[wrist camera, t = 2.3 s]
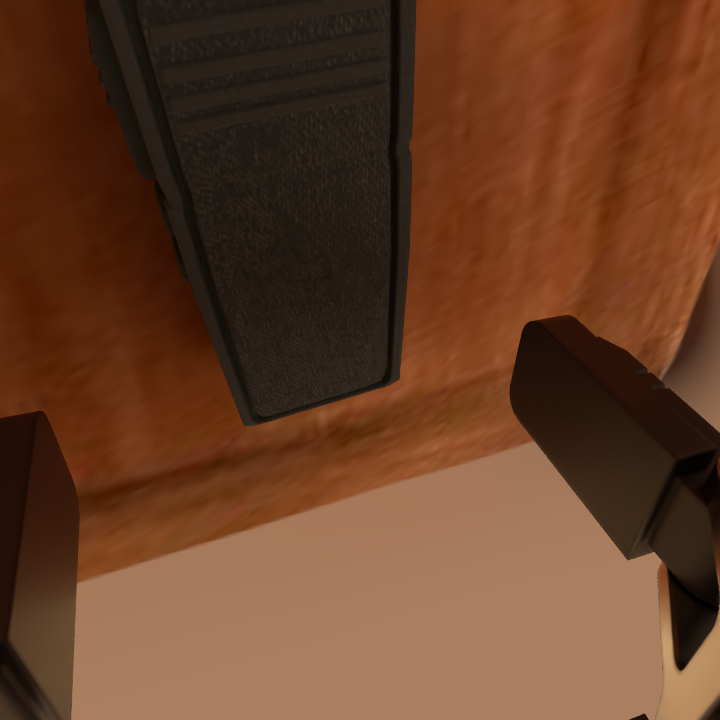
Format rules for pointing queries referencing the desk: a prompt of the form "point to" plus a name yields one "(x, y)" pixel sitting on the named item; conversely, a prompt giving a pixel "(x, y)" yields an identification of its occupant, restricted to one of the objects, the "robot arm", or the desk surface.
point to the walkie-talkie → (276, 178)
